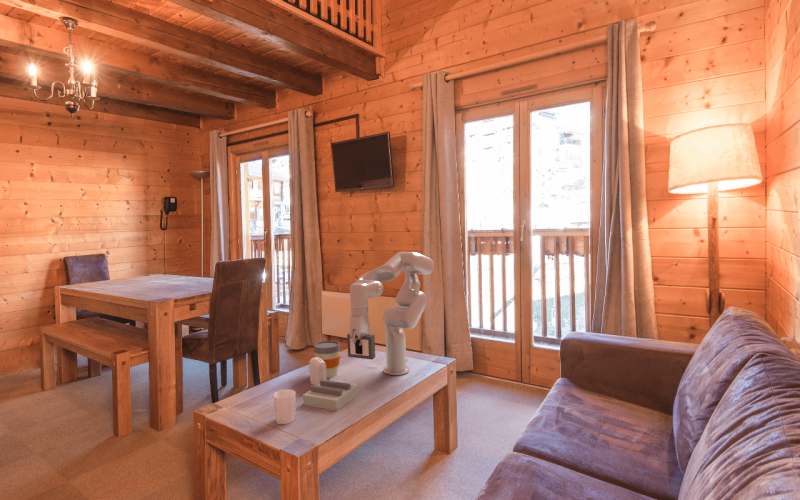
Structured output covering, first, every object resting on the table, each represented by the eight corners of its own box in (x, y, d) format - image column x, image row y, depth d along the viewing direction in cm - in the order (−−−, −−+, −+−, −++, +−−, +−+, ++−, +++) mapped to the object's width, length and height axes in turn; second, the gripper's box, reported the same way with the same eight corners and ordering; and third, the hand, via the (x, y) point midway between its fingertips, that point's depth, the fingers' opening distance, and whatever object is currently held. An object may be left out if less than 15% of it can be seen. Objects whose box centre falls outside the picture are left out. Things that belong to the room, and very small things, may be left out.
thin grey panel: (351, 354, 179) (350, 332, 178) (375, 357, 174) (374, 334, 174) (347, 356, 176) (346, 334, 175) (371, 359, 171) (370, 337, 171)
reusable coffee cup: (342, 378, 187) (341, 346, 186) (314, 381, 185) (313, 349, 184) (340, 369, 200) (339, 339, 199) (314, 371, 197) (313, 341, 196)
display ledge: (325, 389, 175) (325, 376, 174) (357, 394, 168) (357, 380, 168) (303, 404, 160) (302, 389, 160) (337, 411, 154) (336, 395, 153)
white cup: (277, 415, 151) (276, 390, 150) (298, 414, 152) (297, 388, 151) (272, 426, 143) (271, 398, 143) (294, 424, 144) (293, 397, 143)
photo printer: (308, 383, 183) (307, 356, 182) (317, 380, 185) (316, 354, 185) (319, 389, 175) (318, 362, 174) (328, 387, 177) (327, 359, 177)
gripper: (361, 306, 183) (362, 346, 184) (342, 315, 168) (344, 357, 169) (375, 307, 180) (377, 347, 181) (357, 316, 165) (359, 359, 166)
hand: (361, 352), depth 175 cm, fingers closed on thin grey panel, 3 cm apart
